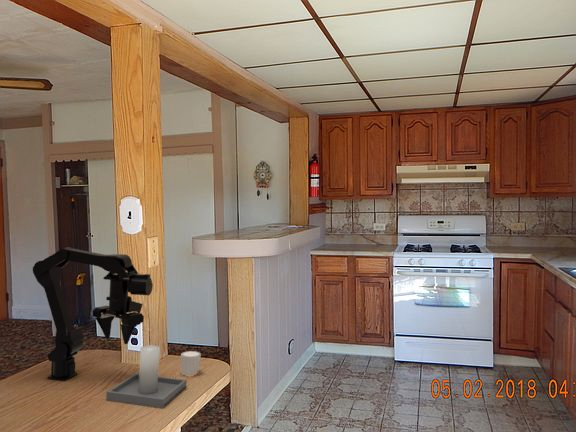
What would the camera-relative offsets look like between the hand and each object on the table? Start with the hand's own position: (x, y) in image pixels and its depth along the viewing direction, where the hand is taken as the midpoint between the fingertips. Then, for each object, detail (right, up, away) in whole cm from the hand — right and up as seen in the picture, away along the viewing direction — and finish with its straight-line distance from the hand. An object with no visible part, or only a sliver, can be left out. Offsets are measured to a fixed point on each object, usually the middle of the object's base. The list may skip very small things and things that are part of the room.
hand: (116, 341), depth 150 cm
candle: (+13, -13, -9) cm, 20 cm away
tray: (+13, -14, -9) cm, 21 cm away
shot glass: (+22, -14, +10) cm, 28 cm away
